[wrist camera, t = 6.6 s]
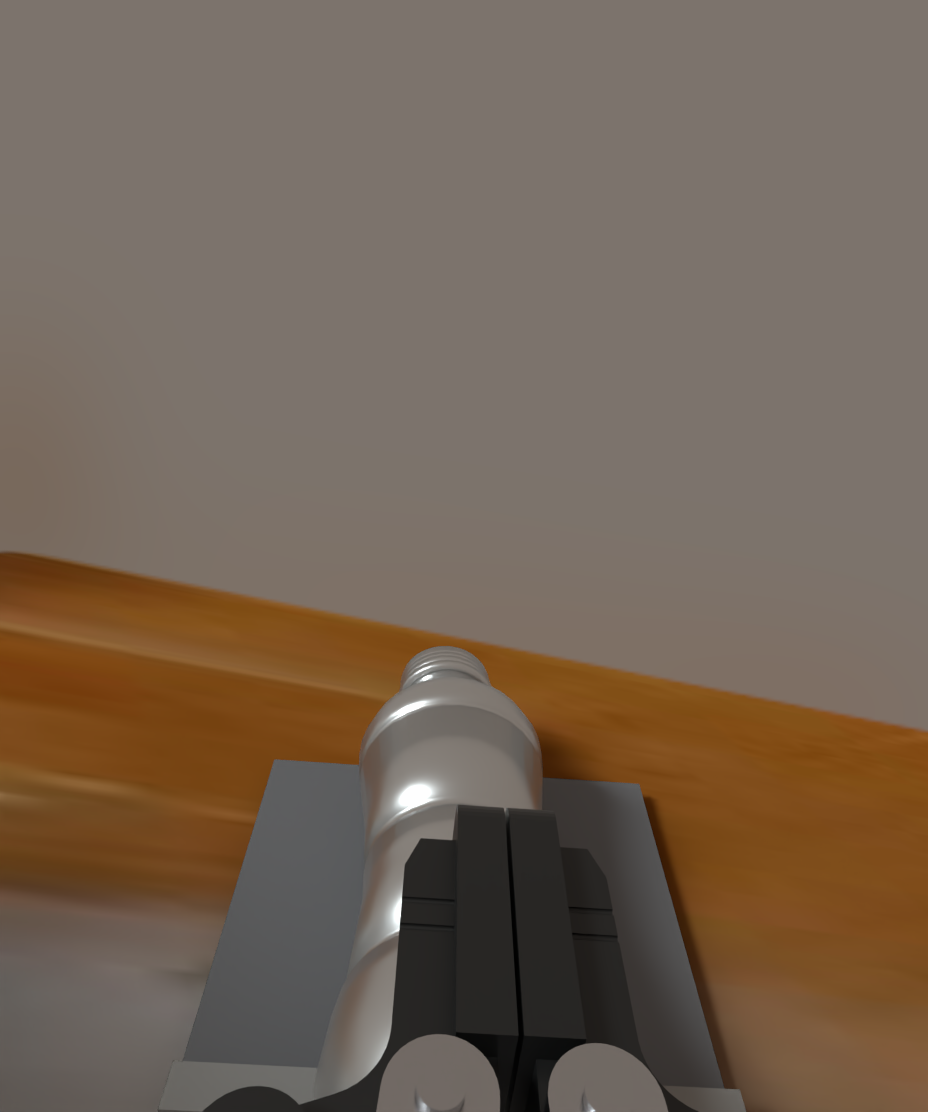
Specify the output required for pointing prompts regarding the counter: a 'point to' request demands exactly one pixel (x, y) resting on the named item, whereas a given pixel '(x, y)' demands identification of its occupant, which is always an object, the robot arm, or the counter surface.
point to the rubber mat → (331, 921)
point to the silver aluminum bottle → (419, 824)
